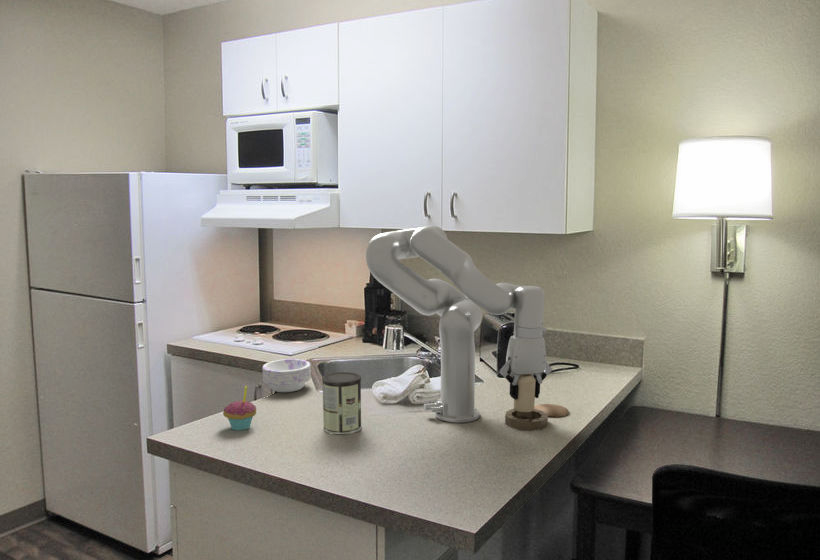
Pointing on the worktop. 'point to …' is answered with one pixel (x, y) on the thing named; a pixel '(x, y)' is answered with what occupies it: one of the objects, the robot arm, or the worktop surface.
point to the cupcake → (240, 413)
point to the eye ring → (530, 425)
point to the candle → (525, 393)
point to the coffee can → (342, 403)
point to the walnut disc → (552, 410)
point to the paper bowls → (286, 374)
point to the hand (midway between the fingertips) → (524, 396)
